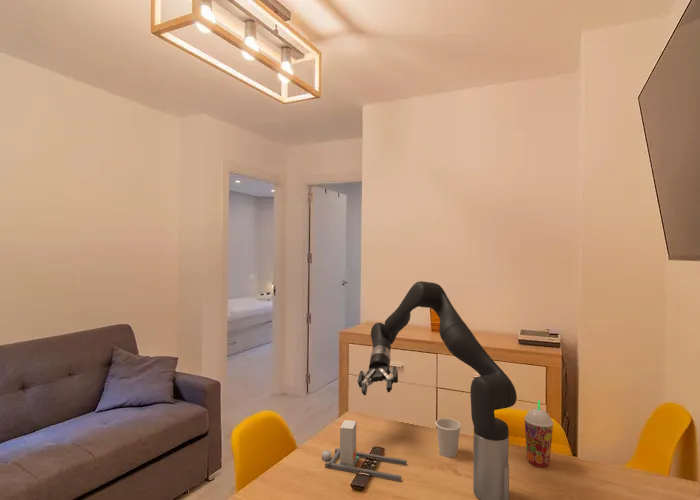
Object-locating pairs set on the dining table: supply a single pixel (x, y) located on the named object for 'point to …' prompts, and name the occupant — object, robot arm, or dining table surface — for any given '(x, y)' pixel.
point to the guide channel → (327, 456)
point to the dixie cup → (448, 436)
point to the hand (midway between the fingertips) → (376, 392)
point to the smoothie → (538, 436)
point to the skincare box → (348, 443)
